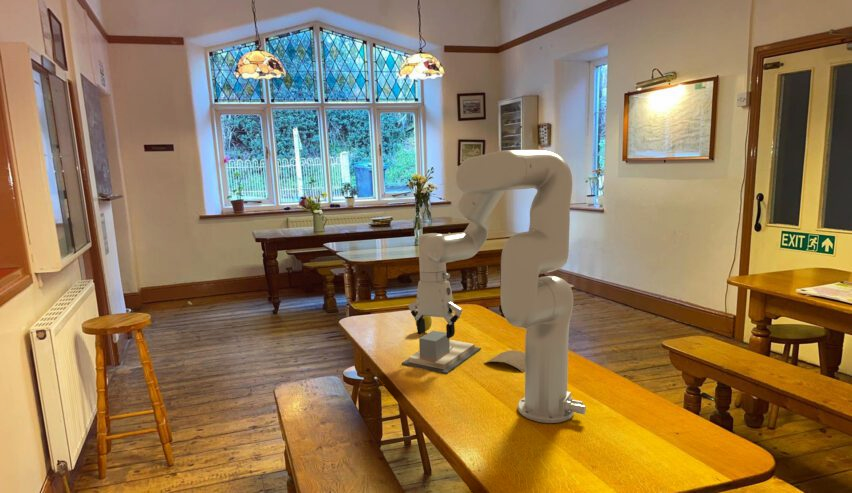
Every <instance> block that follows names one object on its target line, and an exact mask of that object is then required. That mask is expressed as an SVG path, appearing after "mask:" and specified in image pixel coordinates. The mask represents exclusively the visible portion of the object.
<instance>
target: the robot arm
mask: <svg viewBox="0 0 852 493" xmlns="http://www.w3.org/2000/svg"><path fill="white" fill-rule="evenodd" d="M570 168H571V167H570V166H569V165H568V163H567V161H566V160H565V159H563V157H561V156H560V155H559V154H557V153H554V152H552V151H549V150H542V149H509V150H508V149H506V150H504V149H503V150H499V151H494V152H489V153H486V154H481V155H480V154H479V155H476V156H471V157H468V158H466V159H464V160H463V161H462V162H461V163H460V165H459V166H458V168H457V170H456V173H455V182H456V186H457V187H458V189H459V190H460V191H461V192H462V195H461V197H460V198H459V200H458V203H457V208H458V211H459V212H460V214H461V215H462V216H463V217H464V218H465V219H466V220H467V221H469V223H468V225H467V226H466V228H465V230H463V232H453V233H449V234H442V233H437V232H431V233H430V232H429V233H423V234H421V235H419V237H418V242H417V244H418V263H419V265H418V266H419V281H418V282H417V283H418V284H417V289H416V290H417V292H416V300H415V301H413V302H411V303H409V304H408V306H407V307H408V308H409V311H410V314H411V315H412V316H413V318H414V321H415V322H416V321H417V326H416V331H417V335H422V334H425V333H426V332H425V320H424V319H423V317H424V316H431V317H432V318H433V317H435V318H443V319H444V320H445V321H446V323H447V324H446V325H445V326H446V329H445V330H446V331H445V333H447V338H449V339H451V338H453V337H454V335H455V334H456V333H455V332H456V330H455V328H456V327H455V323H456V322H457V321H458V320H459V319H460V316H461V315H462V312H463V309H462V308H461V307H460V306H458V305H457V304H455V303H454V297H453V293H452V292H453V291H452V287H451V283H450V280H447V279H450V278H451V274H450V273H448V272H447V263H452V262H456V261H462V260H463V261H464V260H467V259H470V258H473V257H474V256H475V255H476V254H478V253H479V251H480V250H481V248H482V247H483V246H484V245H485V243H486V241H487V239H488V237H489V230H490V221H489V216H490V215H491V214H492V212H493V210H494V209H495V207H496V206H497V205H498V203H499V201H500V200H501V199H502V197H503V195H504V193H505V192H506V191H513V190H514V191H515V190H527V189H535V190H536V191H537V192H536V193H535V195H534V197H533V199H532V201H531V205H530V210H529V227H528V230H526V231H521V232H518V233H515V234H513V235H511V236H510V237H509V238H508V239H507V240H506V242H505V243H504V246H503V247H502V251H501V254H500V255H501V256H500V306H501V307H500V308H501V310H502V311H501V312H502V314H503V316H504V318H505V320H506V321H507V323H509V324H510V325H511V326H513V327H516V328H526V331H525V339H524V344H525V345H524V349H525V350H524V353H525V372H524V397H523V398H521V399H520V400H519V401H518V403H517V410H518V412H519V413H520V415H521V416H523V417H525V418H526V419H529V420H530V421H534V422H538V423H544V424H545V423H546V424H558V423H563V422H566V421H569V420H570V419H572V417H573V416H574V413H577V414H580V415H585V414H586V410H587V409H586V408H587V406H586V405H584V401H582V400H580V399H579V400H578V399H577V400H576V399H573V398H572V392H571V391H568V375H569V374H568V366H569V363H568V362H569V336H570V335H569V332H570V323H571V317H572V314H573V309H574V293H573V289H572V287H571V285H570V284H569V282H568V281H566V280H565V279H563V278H561V277H558V276H555V275H548V276H540V275H543V274H546V273H550V272H551V273H552V272H555V271H557V270H558V271H559V270H560V269H562V268H563V267H564V266H565V265H566V264H567V262H568V258H569V252H570V250H569V248H570V226H571V223H570V221H571V220H570V218H571V217H570V215H571V214H570V212H571V200H572V193H573V175H572V172H571V169H570ZM539 276H540V277H539ZM453 314H454V315H453ZM424 332H425V333H424Z"/></svg>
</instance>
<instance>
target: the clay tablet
mask: <svg viewBox="0 0 852 493" xmlns="http://www.w3.org/2000/svg"><path fill="white" fill-rule="evenodd" d="M490 362H495V363H496V362H498V363H505V364H507V365H510V366H513V367H514V368H516V369H518V370H519V371H520V372H521V373H525V352H522V351H518V350H506V351H503V352H501V353H499V354H497V355H496V356H494V357H493V358H490V359H489V360H487V361H486V362H484V364H487V363H490Z"/></svg>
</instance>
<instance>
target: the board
mask: <svg viewBox="0 0 852 493" xmlns="http://www.w3.org/2000/svg"><path fill="white" fill-rule="evenodd" d="M449 340H450V353H448V354H447V355H445V356H444V357H442V358H441V359H439V360H438V361H431V360H426V359H421V358H420V350H418V351H417V352H414V353H413V354H411V355H409V356H408V358H407V359H406V360H404V361H402V362H401V365H402V366H403V365H404V366H407V367H412V368H417V369H421V370H424V371H425V370H426V371H431V372H436V373H439V374H446V375H448V374H449V373H451V372H452V371H454V370H455V369H457V368H458V367H459V366H460V365H462V364H463V363H465V362H466V361H468V359H470V358H472V356H474V355H475V354H477V353H478V352H479V351H481V350H482V347H480V346H479V347H478V346H475V343H472V342H471V343H470V342H464V341H461V340H460V341H459V340H454V339H453V340H452V339H449Z"/></svg>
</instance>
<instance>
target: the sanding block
mask: <svg viewBox="0 0 852 493" xmlns="http://www.w3.org/2000/svg"><path fill="white" fill-rule="evenodd" d="M450 340H451V339H450V338H447V332H446V331H439V330H432V331H430V332H428V333H426V334H424V335H423V336H421V337H419V339H418V343H419V348H418V349H419V351H420V358H421V359H426V360H431V361H438V360H439V359H441V358H442V357H444V356H445V355H447V354H448V353H450Z"/></svg>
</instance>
